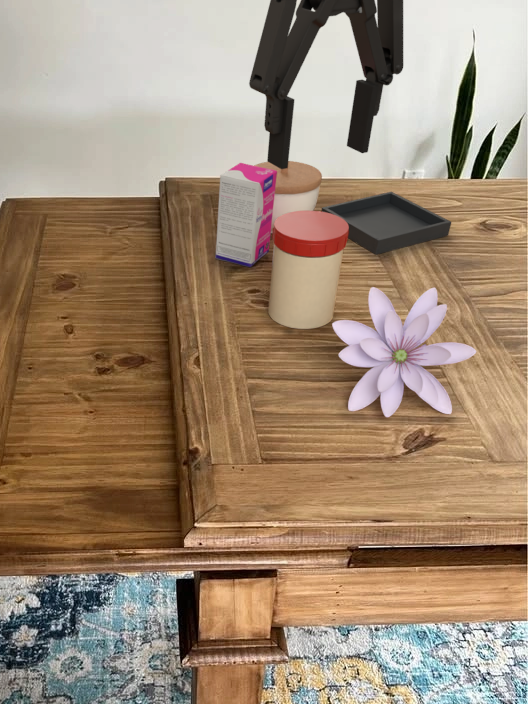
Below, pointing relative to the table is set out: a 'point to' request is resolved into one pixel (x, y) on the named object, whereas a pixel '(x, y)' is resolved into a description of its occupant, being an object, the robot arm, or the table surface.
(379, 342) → the water lily
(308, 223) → the jam lid
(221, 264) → the table surface
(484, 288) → the table surface
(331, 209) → the tray
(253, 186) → the supplement box
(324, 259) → the jam jar
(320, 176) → the trinket box
